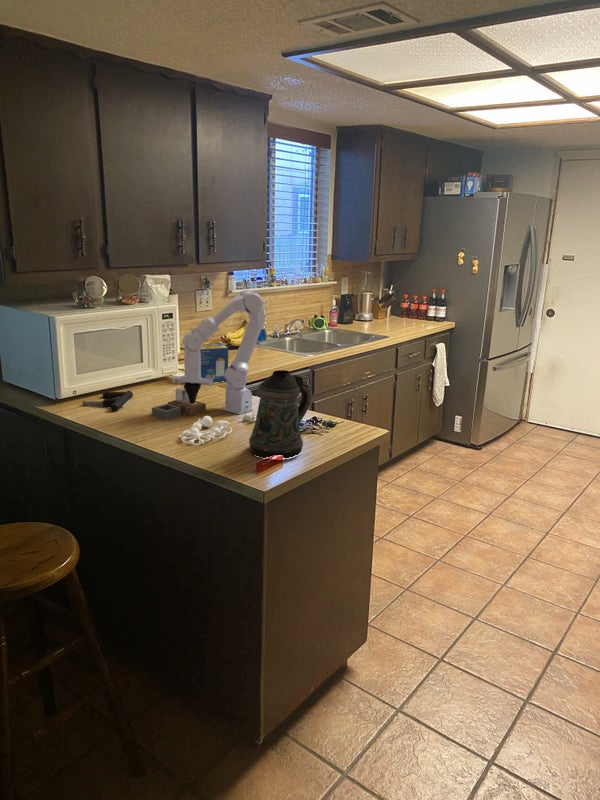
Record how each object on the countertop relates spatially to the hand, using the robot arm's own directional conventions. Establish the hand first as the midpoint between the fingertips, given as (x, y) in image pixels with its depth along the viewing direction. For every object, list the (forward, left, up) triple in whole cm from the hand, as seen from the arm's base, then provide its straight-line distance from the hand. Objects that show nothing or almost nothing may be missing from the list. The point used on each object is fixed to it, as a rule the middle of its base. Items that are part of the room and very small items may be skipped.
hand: (192, 403), depth 218 cm
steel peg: (+5, 0, -4) cm, 6 cm away
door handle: (+31, +13, -4) cm, 34 cm away
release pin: (0, 0, -3) cm, 3 cm away
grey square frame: (+4, +9, -3) cm, 10 cm away
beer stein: (-46, +10, -4) cm, 47 cm away
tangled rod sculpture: (-21, +15, -4) cm, 26 cm away
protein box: (+28, -38, -4) cm, 47 cm away
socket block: (+3, 0, -3) cm, 5 cm away
